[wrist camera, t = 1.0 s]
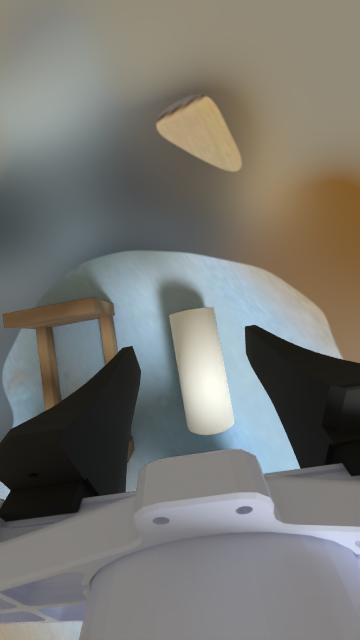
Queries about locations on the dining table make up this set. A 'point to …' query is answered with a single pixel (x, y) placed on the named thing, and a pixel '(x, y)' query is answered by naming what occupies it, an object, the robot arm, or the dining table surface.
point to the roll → (201, 371)
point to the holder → (43, 324)
